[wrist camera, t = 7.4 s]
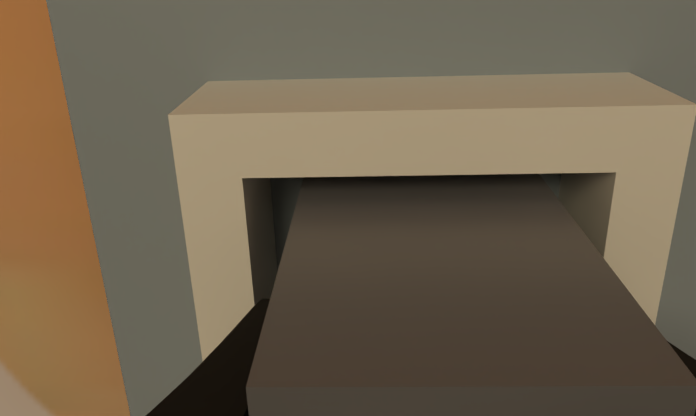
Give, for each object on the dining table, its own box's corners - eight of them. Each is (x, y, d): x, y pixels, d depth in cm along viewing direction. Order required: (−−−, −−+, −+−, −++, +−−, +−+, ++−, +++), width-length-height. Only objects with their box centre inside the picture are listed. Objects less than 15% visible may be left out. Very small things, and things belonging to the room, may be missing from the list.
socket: (792, -129, 11) (976, -163, 7) (657, 481, 16) (730, 616, 13) (52, -105, 11) (-77, -128, 8) (162, 480, 17) (112, 609, 13)
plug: (532, 164, 11) (701, 385, 5) (514, 353, 12) (632, 675, 7) (306, 168, 11) (246, 387, 6) (316, 354, 13) (277, 671, 7)
